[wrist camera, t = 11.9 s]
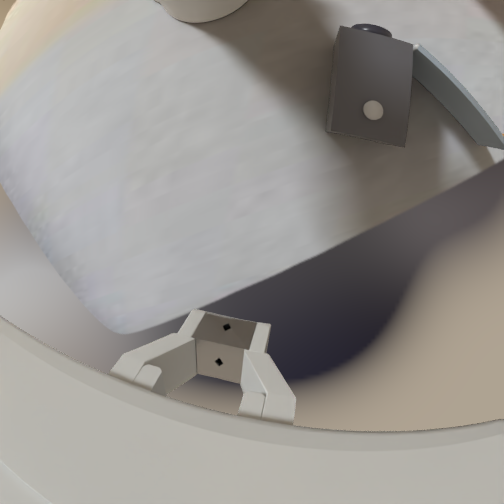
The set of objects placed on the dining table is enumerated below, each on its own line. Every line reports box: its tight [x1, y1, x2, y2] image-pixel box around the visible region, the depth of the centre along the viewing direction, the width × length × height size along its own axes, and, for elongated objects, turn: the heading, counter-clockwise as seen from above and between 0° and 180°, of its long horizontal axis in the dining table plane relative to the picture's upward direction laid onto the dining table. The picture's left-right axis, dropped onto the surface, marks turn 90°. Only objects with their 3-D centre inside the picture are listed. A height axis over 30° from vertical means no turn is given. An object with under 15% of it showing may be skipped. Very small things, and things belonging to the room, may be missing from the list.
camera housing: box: [326, 24, 413, 147], centre depth 26 cm, size 14×8×9 cm, turn 174°
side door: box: [412, 44, 504, 150], centre depth 24 cm, size 16×2×8 cm, turn 55°
